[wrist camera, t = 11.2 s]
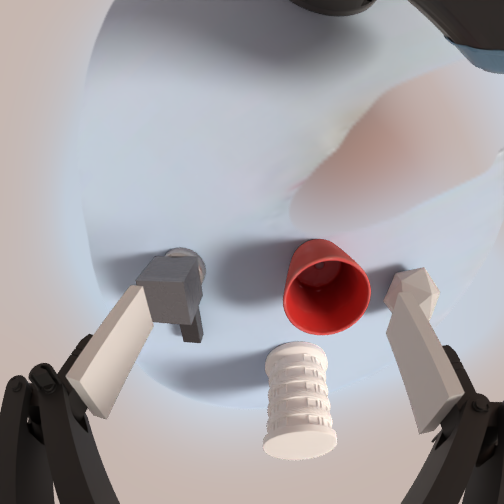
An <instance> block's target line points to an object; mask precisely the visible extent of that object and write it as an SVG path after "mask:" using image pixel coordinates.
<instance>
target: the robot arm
mask: <svg viewBox="0 0 504 504" xmlns="http://www.w3.org/2000/svg"><path fill="white" fill-rule="evenodd" d="M290 1H292V2H293V3H295V4H297V5H298V6H300V7H303V8H305V9H307V10H310V11H313V12H316V13H320V14H325V15H331V16H348V15H354V14H358V13H361V12H363V11H365V10H367V9H368V8H369V7H371V6H372V5H373V4H374V2H375V1H376V0H290ZM408 1H409V2H410V3H411V4H412V5H413V6H415V7H416V8H417V9H418V10H419V11H420V12H421V13H422V14H423V15H425V16H426V17H427V18H428V19H429V20H430V21H431V22H432V23H433V24H434V25H435V26H436V27H437V28H438V29H439V30H440V31H441V32H442V33H443V34H444V37H445V38H446V39H447V40H448V41H449V42H450V43H451V44H453V45H455V46H456V47H457V48H458V50H459V51H460V52H461V53H462V54H463V55H464V56H465V57H466V58H467V59H468V60H469V61H470V62H471V63H472V64H473V65H475V66H476V67H478V68H481V69H483V70H484V71H487V72H491V73H497V74H504V0H408ZM153 327H154V325H153V322H152V318H151V315H150V311H149V308H148V304H147V300H146V297H145V293H144V289H143V286H134V285H130V287H129V288H128V289H127V290H126V292H125V293H124V294H123V296H122V297H121V298H120V300H119V301H118V302H117V304H116V305H115V306H114V308H113V309H112V310H111V312H110V313H109V314H108V316H107V317H106V318H105V320H104V321H103V322H102V324H101V325H100V327H99V328H98V330H97V331H96V332H95V334H94V335H91V334H88V335H87V336H86V337H84V338H83V339H82V340H81V341H80V342H79V344H78V345H77V346H76V349H74V351H73V352H72V353H71V354H72V355H70V356H69V358H68V359H67V361H66V362H65V364H64V365H63V367H62V368H61V370H60V371H59V372H58V374H56V372H55V370H54V369H53V367H52V366H51V365H50V364H47V363H41V364H38V365H37V366H35V367H34V368H33V369H32V370H31V371H30V373H29V380H30V381H31V382H32V383H28V381H27V380H26V378H25V377H23V376H21V375H18V376H14V377H13V378H11V379H10V380H9V382H8V384H7V386H6V390H5V394H4V398H3V402H2V407H1V412H0V504H55V503H54V492H53V482H54V486H55V489H56V493H57V496H58V499H59V502H60V504H120V503H119V501H118V499H117V497H116V494H115V492H114V490H113V488H112V485H111V483H110V481H109V478H108V476H107V473H106V471H105V468H104V466H103V463H102V460H101V458H100V455H99V452H98V450H97V446H96V443H95V441H94V437H93V434H92V431H91V427H90V424H89V421H88V417H87V415H86V414H85V412H86V410H87V408H88V409H89V410H90V411H91V413H92V414H93V415H95V416H97V417H100V418H103V419H107V418H108V416H109V414H110V412H111V410H112V407H113V405H114V403H115V401H116V399H117V397H118V395H119V393H120V391H121V389H122V387H123V385H124V383H125V381H126V379H127V377H128V374H129V373H130V371H131V369H132V366H133V365H134V363H135V361H136V359H137V357H138V355H139V353H140V351H141V349H142V347H143V346H144V344H145V342H146V340H147V338H148V336H149V334H150V332H151V330H152V329H153ZM386 335H387V337H388V340H389V343H390V345H391V348H392V351H393V353H394V356H395V359H396V362H397V364H398V367H399V370H400V373H401V376H402V379H403V382H404V385H405V388H406V391H407V394H408V397H409V400H410V403H411V407H412V410H413V414H414V417H415V421H416V424H417V428H418V431H419V434H422V433H427V432H430V431H434V430H435V429H436V428H437V426H438V425H439V424H441V427H442V430H441V431H440V432H439V433H438V434H437V435H436V436H435V437H434V439H433V440H432V442H434V441H435V440H436V441H435V443H434V446H433V448H432V450H431V452H430V454H429V456H428V458H427V460H426V462H425V463H424V465H423V467H422V469H421V471H420V473H419V474H418V476H417V478H416V480H415V481H414V483H413V485H412V486H411V488H410V490H409V491H408V493H407V494H406V496H405V498H404V499H403V501H402V502H401V504H458V503H459V501H460V499H461V497H462V495H463V492H464V490H465V493H464V497H463V502H462V504H504V401H503V402H490V401H489V400H488V398H487V397H486V396H484V395H482V394H479V393H476V392H475V389H474V387H473V385H472V383H471V381H470V379H469V377H468V375H467V373H466V371H465V369H464V368H463V365H462V363H461V362H460V359H459V357H458V355H457V354H456V352H455V351H454V350H453V349H452V348H451V347H450V346H449V345H446V346H442V345H441V343H440V341H439V339H438V338H437V336H436V334H435V332H434V330H433V328H432V327H431V325H430V323H429V321H428V320H427V318H426V316H425V314H424V313H423V311H422V309H421V308H420V306H419V304H418V303H417V301H416V299H415V298H414V296H413V294H412V293H411V292H399V293H398V296H397V300H396V303H395V306H394V310H393V313H392V316H391V319H390V322H389V325H388V328H387V331H386ZM27 418H29V420H28V423H27ZM465 488H466V489H465Z"/></svg>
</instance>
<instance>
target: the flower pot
mask: <svg viewBox="0 0 504 504" xmlns="http://www.w3.org/2000/svg"><path fill="white" fill-rule="evenodd" d="M370 295H371V287H370V282H369V279H368V277H367V275H366V273H365V272H364V270H363V269H362V268H361V267H360V266H359V265H358V264H357V263H356V262H355V261H354V260H353V259H352V258H351V257H350V256H349V255H347V254H346V253H345V252H344V251H343V250H342V249H340V248H339V247H338V246H336V245H335V244H334V243H332V242H330V241H328V240H324V239H314V240H310V241H307V242H305V243H303V244H302V245H301V246H300V247H298V249H297V250H296V251H295V253H294V254H293V256H292V259H291V262H290V266H289V270H288V274H287V279H286V284H285V289H284V295H283V307H284V311H285V313H286V316H287V317H288V319H289V321H290V322H291V323H292V324H293V325H294V326H295V327H297V328H298V329H300V330H301V331H303V332H306V333H309V334H314V335H330V334H335V333H338V332H341V331H343V330H345V329H347V328H349V327H350V326H352V325H353V324H355V323H356V322H357V321H358V320H359V319H360V318H361V317H362V315H363V314H364V312H365V311H366V309H367V307H368V304H369V301H370Z"/></svg>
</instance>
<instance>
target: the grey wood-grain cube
mask: <svg viewBox="0 0 504 504" xmlns="http://www.w3.org/2000/svg"><path fill="white" fill-rule="evenodd" d="M136 284H137V286H143V289H144V293H145V297H146V300H147V304H148V308H149V311H150V315H151V318H152V322H159V323H171V324H185V325H191V324H192V322H193V319H194V317H195V314H196V311H197V309H198V306H199V304H200V301H201V299H202V296H203V294H202V286H201V279H200V272H199V264H198V256H155V257H154V258H153V260H152V261H151V262H150V263H149V264H148V266H147V267H146V268H145V269H144V271H143V272H142V273H141V274H140V275H139V277H138V278H137V279H136Z"/></svg>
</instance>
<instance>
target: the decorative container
mask: <svg viewBox="0 0 504 504" xmlns="http://www.w3.org/2000/svg"><path fill="white" fill-rule="evenodd" d="M327 366H328V361H327V357H326V353H325V352H324V351H323V349H321V348H320V347H319V346H317V345H315V344H312V343H309V342H302V341H300V342H290V343H285V344H283V345H280V346H278V347H276V348H275V349H274V350H272V351H271V352H270V353H269V355H268V356H267V358H266V361H265V372H266V374H267V376H268V377H269V380H268V381H269V387H270V389H269V392H268V393H269V394H268V396H269V397H268V398H269V404H268V409H267V410H268V412H267V413H268V416H269V419H268V421H267V432H268V434H267V435H266V436H265V437H264V439H263V450H264V451H265V452H266V453H267V454H268V455H270V456H272V457H275V458H279V459H284V460H304V459H310V458H314V457H318V456H321V455H324V454H326V453H328V452H330V451H331V450H333V449H334V448H335V447H336V445H337V435H336V432H335V431H334V430H333V429H332V428H331V427H332V422H333V421H332V417H331V415H330V413H329V411H330V402H329V400H328V398H327V396H328V387H327V385H326V383H325V382H326V373H325V372H326V370H327Z"/></svg>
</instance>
